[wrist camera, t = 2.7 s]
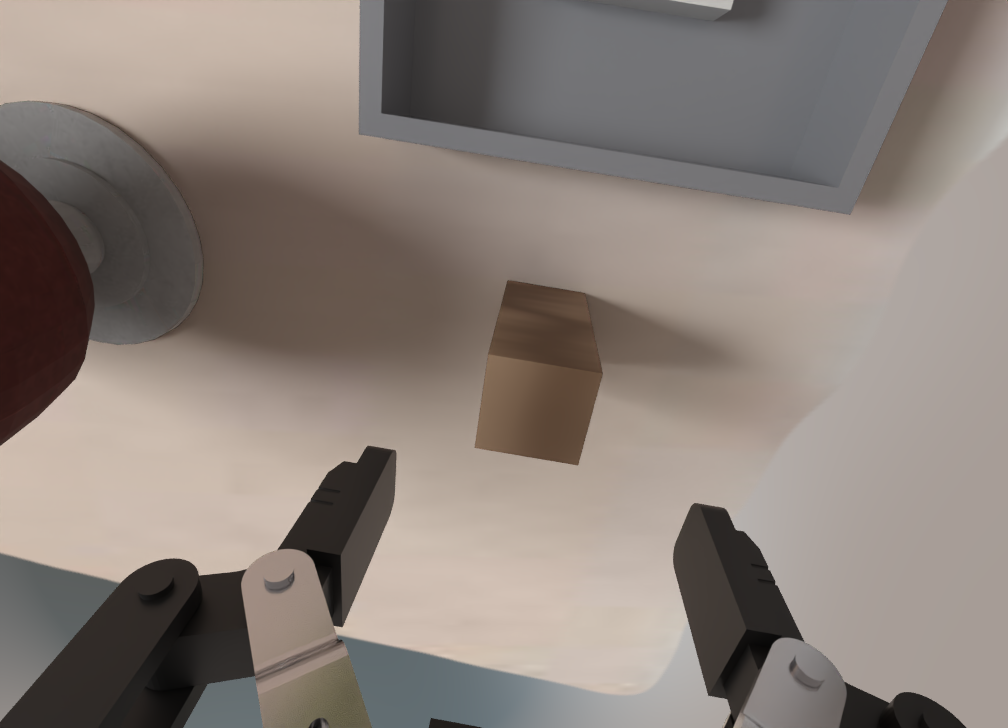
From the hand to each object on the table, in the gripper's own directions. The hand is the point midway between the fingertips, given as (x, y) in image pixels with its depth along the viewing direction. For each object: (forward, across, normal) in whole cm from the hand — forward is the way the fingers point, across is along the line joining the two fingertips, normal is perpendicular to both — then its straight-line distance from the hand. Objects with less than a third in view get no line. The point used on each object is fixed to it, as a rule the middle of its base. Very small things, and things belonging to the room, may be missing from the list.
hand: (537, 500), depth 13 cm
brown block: (+14, 0, 0) cm, 14 cm away
